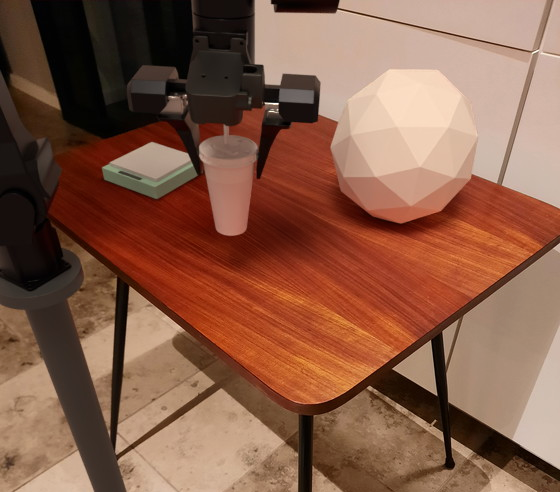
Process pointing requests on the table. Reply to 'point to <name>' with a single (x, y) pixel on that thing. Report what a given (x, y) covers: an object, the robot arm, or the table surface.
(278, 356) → the table surface
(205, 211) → the table surface
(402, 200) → the ball
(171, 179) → the scale
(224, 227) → the smoothie
